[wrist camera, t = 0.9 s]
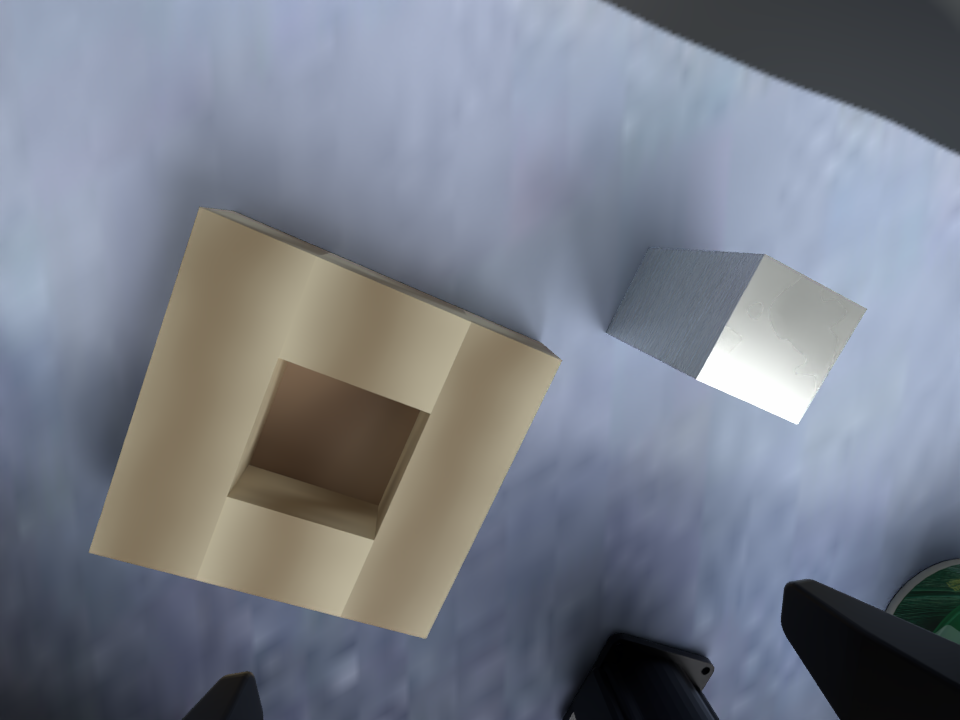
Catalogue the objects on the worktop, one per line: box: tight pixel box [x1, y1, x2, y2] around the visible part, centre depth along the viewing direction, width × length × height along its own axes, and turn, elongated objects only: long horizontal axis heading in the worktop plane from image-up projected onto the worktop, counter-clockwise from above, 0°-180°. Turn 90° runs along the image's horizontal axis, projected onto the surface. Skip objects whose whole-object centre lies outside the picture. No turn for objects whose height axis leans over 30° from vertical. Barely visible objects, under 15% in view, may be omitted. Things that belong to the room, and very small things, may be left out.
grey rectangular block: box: [606, 247, 867, 425], centre depth 18 cm, size 4×4×7 cm
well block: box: [89, 207, 562, 639], centre depth 19 cm, size 13×13×3 cm
